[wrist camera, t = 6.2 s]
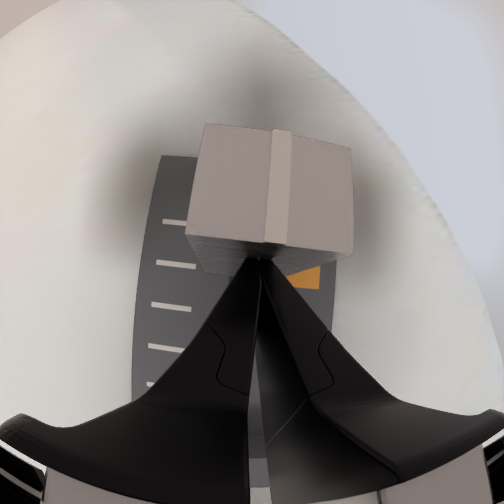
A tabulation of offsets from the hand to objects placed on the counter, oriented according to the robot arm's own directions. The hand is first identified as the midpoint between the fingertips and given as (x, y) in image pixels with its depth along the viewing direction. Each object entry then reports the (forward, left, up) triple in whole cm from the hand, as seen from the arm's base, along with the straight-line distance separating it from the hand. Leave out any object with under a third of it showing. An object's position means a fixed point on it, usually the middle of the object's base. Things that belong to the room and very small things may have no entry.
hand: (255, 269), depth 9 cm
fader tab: (+1, +2, -8) cm, 8 cm away
